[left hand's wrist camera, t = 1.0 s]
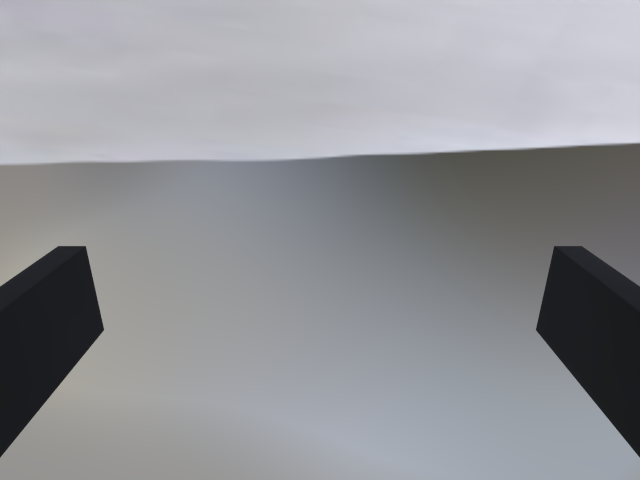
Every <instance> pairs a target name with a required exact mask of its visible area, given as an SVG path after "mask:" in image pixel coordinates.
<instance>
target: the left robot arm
mask: <svg viewBox="0 0 640 480" xmlns="http://www.w3.org/2000/svg"><path fill="white" fill-rule="evenodd" d="M103 330H104V328H103V323H102V319H101V314H100V309H99V305H98V301H97V296H96V291H95V287H94V282H93V277H92V273H91V268H90V264H89V259H88V255H87V250H86V246H58V247H57V248H55V249H54V250H52V251H51V252H49V253H48V254H46V255H45V256H44V257H42V258H41V259H39V260H38V261H36V262H35V263H34V264H32V265H31V266H29V267H28V268H26V269H25V270H23V271H22V272H21V273H19V274H18V275H16V276H15V277H13V278H12V279H10V280H9V281H8V282H6V283H5V284H3V285H2V286H0V457H1V456H2V455H3V453H4V452H5V451H6V450H7V448H8V447H9V446H10V445H11V444H12V442H13V441H14V440H15V439H16V437H17V436H18V435H19V434H20V432H21V431H22V430H23V429H24V427H25V426H26V425H27V424H28V423H29V421H30V420H31V419H32V418H33V416H34V415H35V414H36V413H37V412H38V410H39V409H40V408H41V407H42V405H43V404H44V403H45V402H46V401H47V399H48V398H49V397H50V396H51V394H52V393H53V392H54V391H55V389H56V388H57V387H58V386H59V385H60V383H61V382H62V381H63V380H64V378H65V377H66V376H67V375H68V373H69V372H70V371H71V370H72V369H73V367H74V366H75V365H76V364H77V362H78V361H79V360H80V359H81V358H82V356H83V355H84V354H85V353H86V351H87V350H88V349H89V348H90V346H91V345H92V344H93V343H94V342H95V340H96V339H97V338H98V337H99V335H100V334H101V333H102V332H103ZM536 330H537V332H538V333H539V334H540V335H541V337H542V338H543V339H544V340H545V342H546V343H547V344H548V345H549V346H550V348H551V349H552V350H553V351H554V353H555V354H556V355H557V356H558V358H559V359H560V360H561V361H562V362H563V364H564V365H565V366H566V367H567V369H568V370H569V371H570V372H571V373H572V375H573V376H574V377H575V378H576V380H577V381H578V382H579V383H580V385H581V386H582V387H583V388H584V389H585V391H586V392H587V393H588V394H589V396H590V397H591V398H592V399H593V401H594V402H595V403H596V404H597V405H598V407H599V408H600V409H601V410H602V412H603V413H604V414H605V415H606V417H607V418H608V419H609V420H610V421H611V423H612V424H613V425H614V426H615V428H616V429H617V430H618V431H619V432H620V434H621V435H622V436H623V437H624V439H625V440H626V441H627V442H628V444H629V445H630V446H631V447H632V448H633V450H634V451H635V452H636V453H637V455H638V456H639V457H640V286H638V285H637V284H635V283H634V282H632V281H631V280H629V279H628V278H627V277H625V276H624V275H622V274H621V273H619V272H618V271H616V270H615V269H614V268H612V267H611V266H609V265H608V264H606V263H605V262H604V261H602V260H601V259H599V258H598V257H596V256H595V255H593V254H592V253H591V252H589V251H588V250H586V249H585V248H583V247H582V246H555V247H554V250H553V255H552V259H551V264H550V268H549V273H548V278H547V282H546V287H545V291H544V296H543V300H542V305H541V310H540V314H539V319H538V323H537V328H536Z"/></svg>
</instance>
